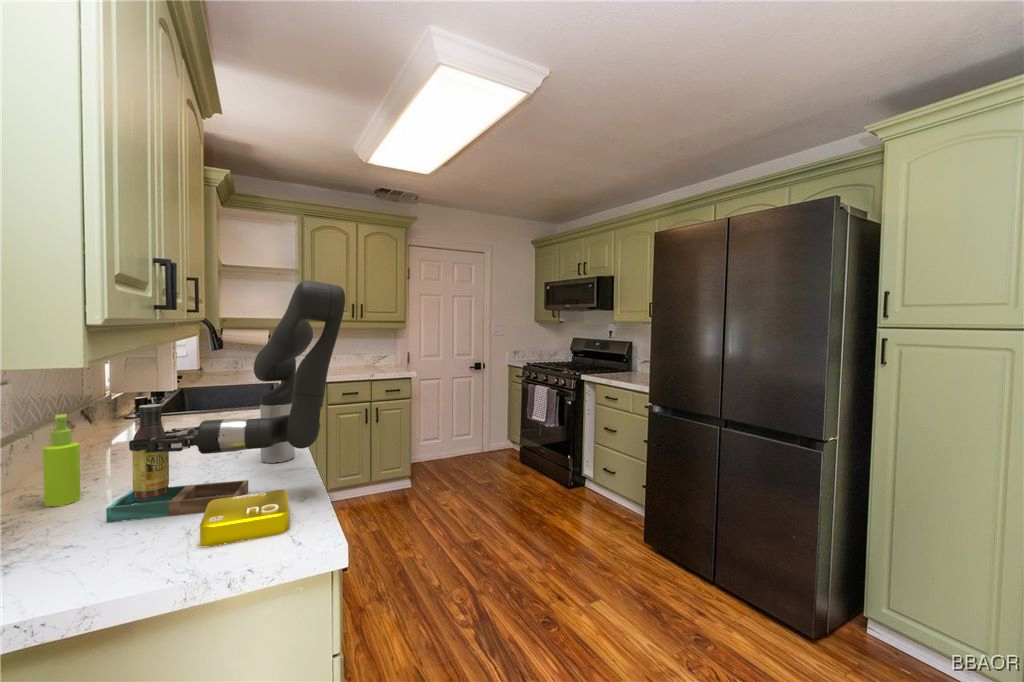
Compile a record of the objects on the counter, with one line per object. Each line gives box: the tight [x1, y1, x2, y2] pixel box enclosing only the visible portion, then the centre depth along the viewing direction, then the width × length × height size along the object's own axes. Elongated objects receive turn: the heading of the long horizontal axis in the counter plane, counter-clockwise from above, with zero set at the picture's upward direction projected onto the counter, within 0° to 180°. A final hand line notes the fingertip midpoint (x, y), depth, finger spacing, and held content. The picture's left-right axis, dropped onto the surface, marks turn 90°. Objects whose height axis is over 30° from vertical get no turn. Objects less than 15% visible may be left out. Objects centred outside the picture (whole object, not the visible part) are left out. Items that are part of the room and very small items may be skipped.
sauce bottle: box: [132, 403, 170, 499], centre depth 98 cm, size 7×6×20 cm
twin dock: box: [105, 479, 249, 523], centre depth 101 cm, size 11×24×3 cm, turn 109°
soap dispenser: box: [42, 413, 82, 507], centre depth 103 cm, size 6×7×20 cm
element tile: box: [199, 489, 290, 547], centre depth 92 cm, size 15×15×5 cm
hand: (137, 441), depth 98 cm, fingers closed on sauce bottle, 6 cm apart
